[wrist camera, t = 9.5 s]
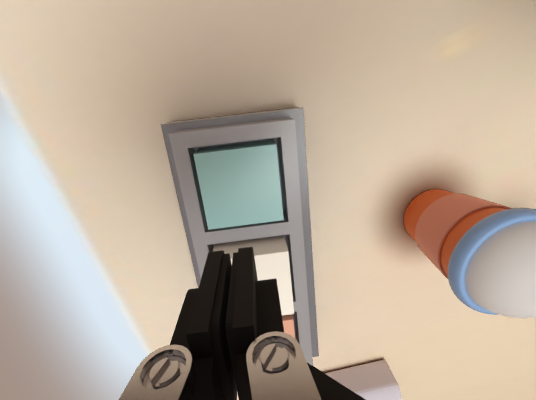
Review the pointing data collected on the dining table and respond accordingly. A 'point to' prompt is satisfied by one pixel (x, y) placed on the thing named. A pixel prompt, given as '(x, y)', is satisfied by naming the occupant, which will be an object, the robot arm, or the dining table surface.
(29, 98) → the dining table surface
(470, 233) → the cup with straw
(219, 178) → the teal key
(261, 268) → the cream key
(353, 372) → the charger
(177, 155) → the keypad
